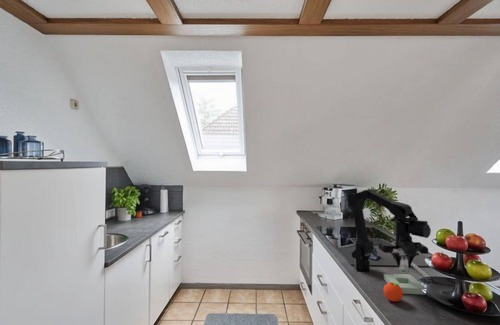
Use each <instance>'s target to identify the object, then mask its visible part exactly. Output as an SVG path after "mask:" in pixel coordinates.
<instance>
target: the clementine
mask: <svg viewBox="0 0 500 325" xmlns="http://www.w3.org/2000/svg"><path fill="white" fill-rule="evenodd" d="M399 285H400V284H398V283H392V282H390V283H387V282H386V284H385V285H384V286H383V294H384V296H385V297H386V298H387V299H388V300H389V301H390V302H391V301H392V302H394V303H395V302H399V301H401V300H402V299H403V296H404V294H403V291H402V289H401V287H400V286H399ZM401 286H402V285H401ZM402 287H403V286H402Z"/></svg>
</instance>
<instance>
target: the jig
mask: <svg viewBox="0 0 500 325" xmlns="http://www.w3.org/2000/svg"><path fill="white" fill-rule="evenodd" d="M383 279H384V281H385V282H386V284H387V283H390V282H392V283H398V284H400V285H399V286H400V287H401V289H402V291H403V295H404V294H405V295H406V294H407V295H408V294H410V295H424V294H423V292H422V289H427V287H425V286H424V284H422V283H421V282H420V281H418V279H416V278H415V277H414V276H412V274H407V273H405V274H403V273H383ZM401 285H402V286H403V287H402V286H401ZM427 290H428V289H427Z"/></svg>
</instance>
